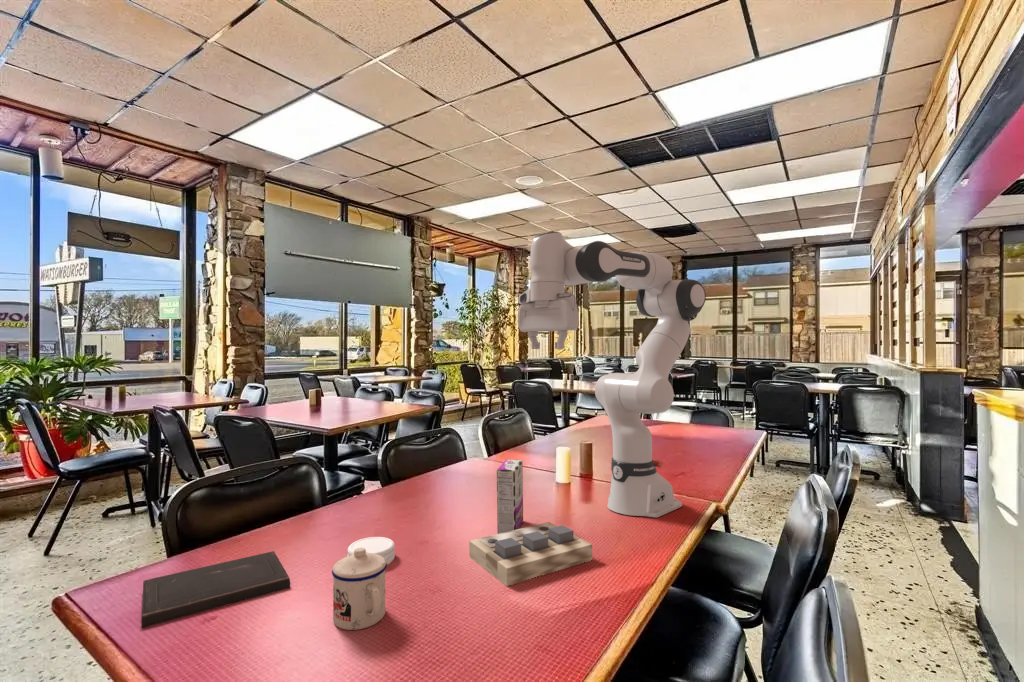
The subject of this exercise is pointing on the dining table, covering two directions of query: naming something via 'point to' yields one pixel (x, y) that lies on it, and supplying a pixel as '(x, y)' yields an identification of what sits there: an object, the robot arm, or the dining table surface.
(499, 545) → the button
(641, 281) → the robot arm
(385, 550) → the white round disc stack
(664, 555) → the dining table surface
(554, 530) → the button
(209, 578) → the hardcover book
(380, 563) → the teacup with lid
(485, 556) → the button board
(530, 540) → the middle button
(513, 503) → the candy bar box
